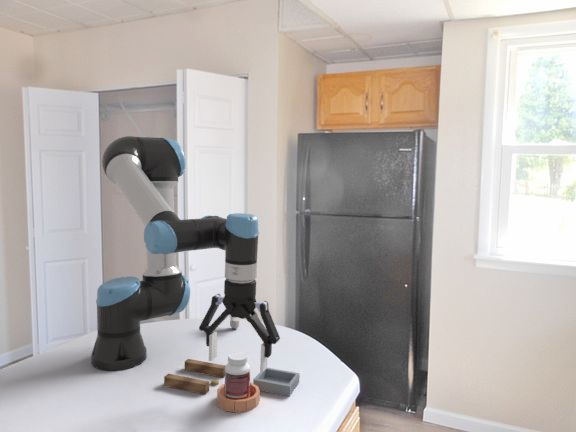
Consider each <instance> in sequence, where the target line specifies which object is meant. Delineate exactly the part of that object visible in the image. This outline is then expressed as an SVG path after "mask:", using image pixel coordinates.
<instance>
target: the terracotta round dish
mask: <svg viewBox="0 0 576 432" xmlns="http://www.w3.org/2000/svg"><path fill="white" fill-rule="evenodd" d="M224 394H225V383H223V384H221V385H220V386H219V387H218V388H217V389H216V401H217V402H216V403H217V407H219V408H220V409H221V410H223V411H226V412H231V413H244V412H245V413H246V412H249V411H251V410H253V409H255V408H257V406H258V405H259V403H260V398H261V396H260V394H261V391H260V390H259V387H258V386H256V385H255V384H253V382H251V381H250V398H247V399H241V400H233V399H228V398H226V397H224Z"/></svg>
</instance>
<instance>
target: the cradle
mask: <svg viewBox="0 0 576 432" xmlns="http://www.w3.org/2000/svg"><path fill="white" fill-rule="evenodd" d="M225 366H226V364H218V363H213V362H210V361H209V362H208V361H202V360H197V359H191V358H187V359H186V360H185V361H184V371H188V372H193V373H198V374H203V375H209V376H213V377H218V378H225ZM163 378H164V379H163V381H164V382H163V384H164V387H168V388H173V389H176V390H182V391H187V392H192V393H197V394H202V395H207V394H209V392H210V385H211V386H218V385H219V380H218V379H213V380H211V381H208V380H203V379H200V378H199V379H197V378H193V377H189V376H183V375H179V374H178V375H177V374H172V373H167V374H165V375H164V377H163Z"/></svg>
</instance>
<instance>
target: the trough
mask: <svg viewBox="0 0 576 432" xmlns="http://www.w3.org/2000/svg"><path fill="white" fill-rule="evenodd" d="M300 375H301V374H300V373H299V372H295V371H288V370H283V369H277V368H271V367H267V368H266V369H265V370H264V371H263V372H262V371H260V372H259V373H258V374H257V375H256V376H255V377H254V378H253V381H252V383H253V384H255V385H256V386H258V387H259V391H260V392H267V393H271V394H275V395H276V394H277V395H281V396H285V395H286V397H291V395H292V394H293V392H294V391H295V390H296V388H297V386H298V385H299V383H300ZM294 389H295V390H294Z"/></svg>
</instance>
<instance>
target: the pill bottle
mask: <svg viewBox="0 0 576 432" xmlns="http://www.w3.org/2000/svg"><path fill="white" fill-rule="evenodd" d="M250 382H251V366H250V364H249V363H248V355H247V353H245V352H241V351H238V352H237V351H236V352H231V353H230V354H228V356H227V364H225V377H224V384H225V394H224V397H226V398H228V399H233V400H241V399H247V398H250Z"/></svg>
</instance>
